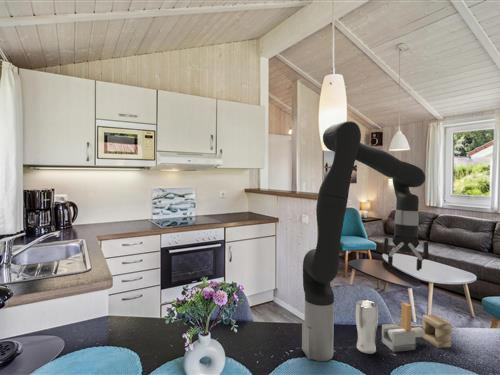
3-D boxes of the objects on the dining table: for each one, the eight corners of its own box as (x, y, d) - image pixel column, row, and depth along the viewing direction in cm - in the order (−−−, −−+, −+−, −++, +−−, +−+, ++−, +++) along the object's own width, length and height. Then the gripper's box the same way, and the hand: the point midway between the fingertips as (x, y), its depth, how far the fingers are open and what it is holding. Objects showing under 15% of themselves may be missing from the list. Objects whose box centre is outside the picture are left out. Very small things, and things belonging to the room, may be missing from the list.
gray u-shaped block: (393, 351, 95) (394, 333, 95) (381, 341, 102) (382, 324, 102) (415, 349, 97) (415, 331, 97) (402, 339, 103) (402, 322, 103)
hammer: (393, 341, 97) (393, 307, 97) (387, 336, 100) (388, 303, 100) (424, 338, 99) (425, 304, 99) (418, 334, 102) (418, 301, 102)
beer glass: (353, 351, 96) (354, 305, 96) (356, 341, 102) (357, 298, 102) (376, 357, 92) (377, 310, 92) (378, 346, 99) (378, 302, 99)
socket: (438, 348, 98) (438, 324, 98) (422, 337, 105) (422, 315, 105) (450, 346, 99) (451, 323, 99) (434, 336, 106) (434, 314, 106)
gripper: (384, 222, 103) (382, 267, 103) (431, 226, 98) (429, 274, 98) (384, 220, 110) (382, 263, 110) (427, 224, 105) (425, 268, 105)
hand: (404, 268), depth 104 cm, fingers open, 8 cm apart
